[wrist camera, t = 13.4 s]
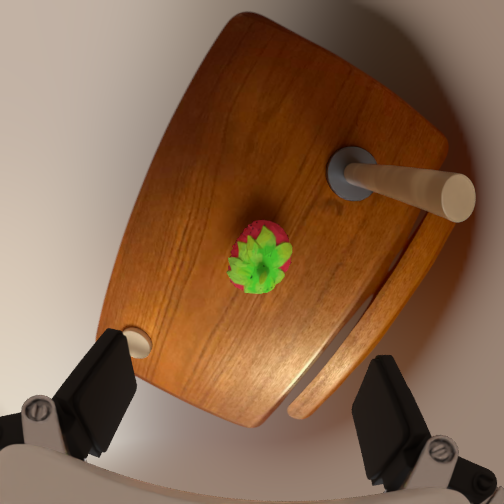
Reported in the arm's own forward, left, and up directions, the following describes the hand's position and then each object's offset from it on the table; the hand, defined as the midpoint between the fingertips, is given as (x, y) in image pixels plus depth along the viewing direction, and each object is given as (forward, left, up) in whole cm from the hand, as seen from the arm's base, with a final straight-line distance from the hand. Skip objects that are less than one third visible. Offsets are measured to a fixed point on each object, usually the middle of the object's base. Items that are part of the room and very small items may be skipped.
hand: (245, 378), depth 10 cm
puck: (+18, -17, -24) cm, 34 cm away
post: (-7, +9, -24) cm, 27 cm away
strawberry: (+2, 0, -24) cm, 24 cm away
